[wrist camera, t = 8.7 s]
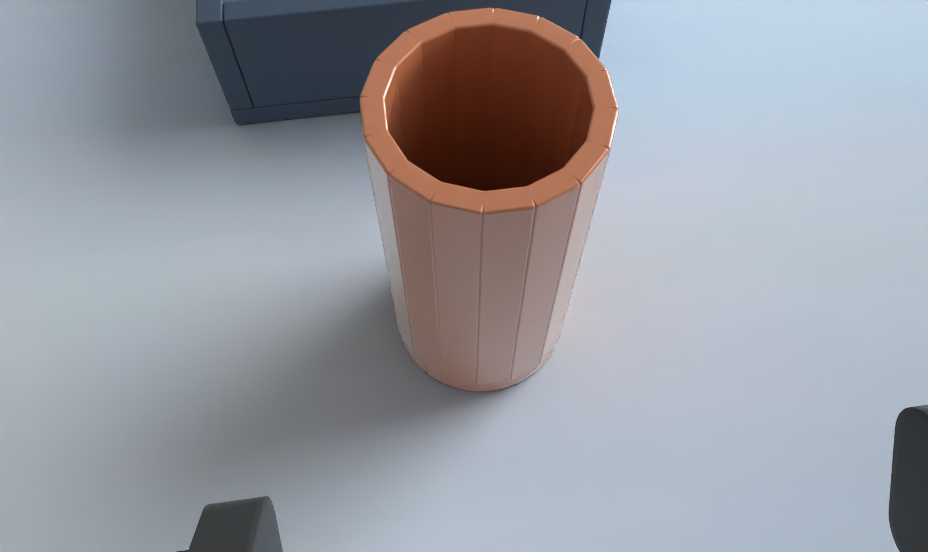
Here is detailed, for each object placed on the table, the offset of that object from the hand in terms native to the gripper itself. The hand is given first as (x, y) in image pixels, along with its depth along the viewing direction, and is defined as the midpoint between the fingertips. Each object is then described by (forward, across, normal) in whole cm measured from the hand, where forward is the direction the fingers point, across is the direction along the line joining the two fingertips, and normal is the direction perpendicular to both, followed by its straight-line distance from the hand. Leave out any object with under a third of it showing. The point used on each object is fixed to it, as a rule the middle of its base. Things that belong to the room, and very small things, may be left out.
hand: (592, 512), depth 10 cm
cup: (+14, 0, +3) cm, 15 cm away
